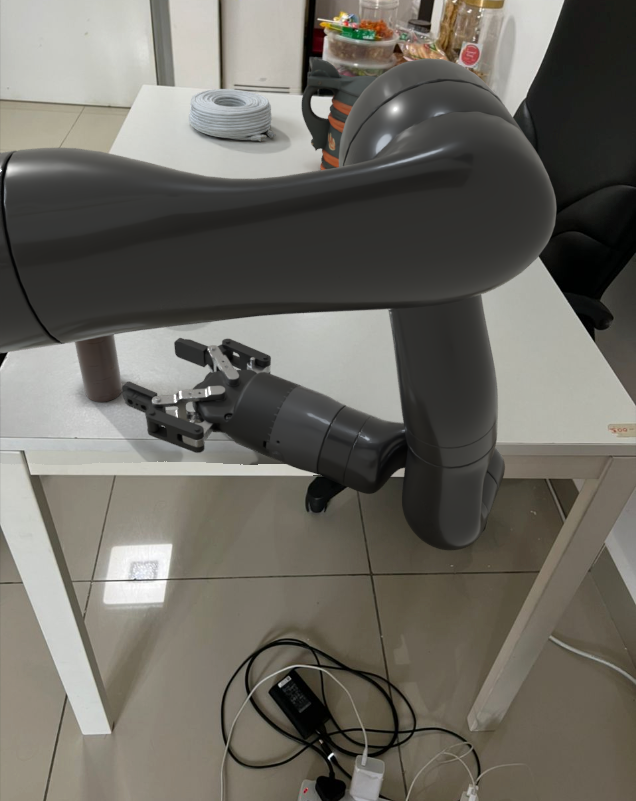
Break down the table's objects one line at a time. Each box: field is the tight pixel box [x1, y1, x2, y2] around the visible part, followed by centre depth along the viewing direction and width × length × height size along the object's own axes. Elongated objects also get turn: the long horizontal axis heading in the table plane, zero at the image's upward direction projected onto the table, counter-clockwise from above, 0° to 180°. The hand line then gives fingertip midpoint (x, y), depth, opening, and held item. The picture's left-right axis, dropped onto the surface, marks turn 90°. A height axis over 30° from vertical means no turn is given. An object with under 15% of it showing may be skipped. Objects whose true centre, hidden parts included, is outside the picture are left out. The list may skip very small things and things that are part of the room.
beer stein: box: [301, 56, 378, 170], centre depth 117 cm, size 19×15×20 cm
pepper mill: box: [74, 334, 123, 403], centre depth 69 cm, size 4×4×10 cm
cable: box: [187, 88, 276, 142], centre depth 136 cm, size 18×18×6 cm
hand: (151, 367), depth 66 cm, fingers open, 8 cm apart
